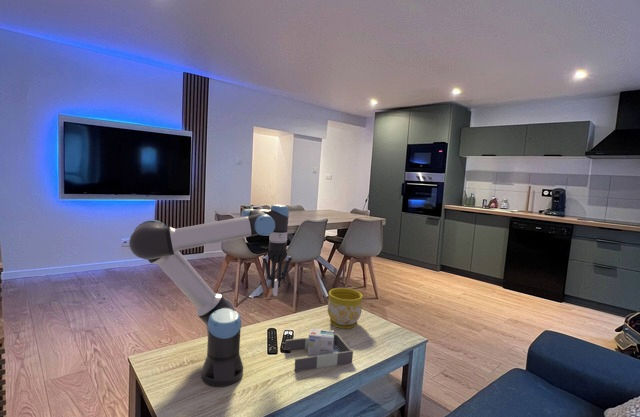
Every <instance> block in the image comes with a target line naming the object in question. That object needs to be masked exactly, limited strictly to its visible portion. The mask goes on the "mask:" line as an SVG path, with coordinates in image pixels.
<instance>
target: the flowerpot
mask: <svg viewBox="0 0 640 417" xmlns="http://www.w3.org/2000/svg"><path fill="white" fill-rule="evenodd" d="M363 297H364V295H363V294H362V292H361V291H358V290H357V289H353V288H348V287H336V288H335V287H334V288H332V289H330V290H329V291H328V302H327V313H328V316H329V321H330V323H331V324H332V325H333V326H334V327H336V328H338V329H343V330H349V329H353V328H354V327H355V326H356V325H357V324H358V321H359V319H360V317H361V315H362V308H363V306H362V302H363Z"/></svg>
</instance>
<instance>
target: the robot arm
mask: <svg viewBox="0 0 640 417" xmlns="http://www.w3.org/2000/svg"><path fill="white" fill-rule="evenodd" d="M289 212H290V210H289V206H287V205H286V204H285V205H284V204H271V206H270V209H261V208H260V209H257V208H256V209H255V208H248V209H247V208H246V209H243V210H242V211H241V216H240V217H235V218H229V219H224V220H218V221H217V220H216V221H211V222H206V223H201V224H196V225H190V226H184V227H179V228H173V227H172V226H166V224H165V223H163V222H161V221H160V220H155V219H153V220H152V219H150V220H146V221H144V222H141V223H139V225H137V226H136V227H135V228H134V231H133V232H132V234H131V235H130V237H129V241H128V245H129V246H128V247H129V249H130V251H131V252H132V254H133V255H135V257H137V258H138V259H139V258H140V259H141V260H147V261H148V262H149V263H150V264H155V265H158V266H159V267H160V269H161V270H162V271H163V272H164V273H165V274H166V275H167V276H168V278H169V279H171V281H172V282H173V283H174V284H175V286H177V288H179V290H180V291H181V292H182V293H183V294H184V295H185V297H186V298H187V299H188V300H189V301H190V302H191V303H192V304H193V306H195V308H196V315H197V316H198V318H199V319H200V320H201V321H202V322H203V323H204V325H205V326H206V334H207V348H206V349H207V350H206V351H207V352H206V357H205V361H204V363H203V366H202V367H201V372H200V373H201V375H200V376H201V380H202V382H203V383H204V384H206V385H208V386H211V387H215V388H217V387H220V388H222V387H229V386H230V385H233V384H236V383H237V382H239V381H240V380H241V379H242V377H243V375H244V374H243V373H244V365H243V364H244V363H243V361H242V358H241V354H240V348H241V347H240V343H241V330H242V319H241V315H240V313H239V312H238V311H237V310H235V308H234V306H233V304H232V303H231V302H230V300H228V299H226V298H225V297H224V296H223V294H221V293H220V292H219V293H218V292H217V293H215V291H214V290H213V289H212V288H211V287H210V286H209V284H208V283H207V281H205V280H204V278H202V277H201V275H200V274H199V273H198V272H197V271H196V269H195V268H194V267H193V266H192V265H191V263H190V262H189V261H188V260H187V258H185V256H184V255H183V254H182V253H181V252H180V251H183V250H189V249H193V248H198V247H203V246H208V245H213V244H217V243H222V242H228V241H234V240H238V239H244V238H249V237H255V236H258V235H259V236H264V237H265V236H269V239H268V240H269V242H268V251H267V255H264V256H262V257H261V260H262V261H263V264H264V268H265V275H266V278H267V279H268V280H270V287H271V289H272V295H273V296H274V297H277V296H278V290H279V288H281V282H282V280H284V279H285V278H286V277H287V276H286V275H287V272H288V269H289V266H290V263H291V261H292V259H293V257H291V256H290V255H288V252H287V246H288V244H287V243H288V242H287V241H288V228H289V218H290V216H289ZM268 261H270V262H271V270H270V266H269V262H268ZM283 262H284V264H283ZM282 265H283V266H282ZM276 266H277V268H276ZM270 272H271V273H270Z"/></svg>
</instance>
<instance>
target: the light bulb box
mask: <svg viewBox="0 0 640 417" xmlns="http://www.w3.org/2000/svg"><path fill="white" fill-rule="evenodd" d="M334 334H335V330H331V329H320V328H313V327H311V328H310V329H309V334H308V337H309V342H308V349H307V357H310V356H317V355H324V354H331V353H334V346H335V345H334Z"/></svg>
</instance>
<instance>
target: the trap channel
mask: <svg viewBox="0 0 640 417" xmlns="http://www.w3.org/2000/svg"><path fill="white" fill-rule="evenodd" d="M308 342H309V336H307V337H299V338H290V339H286V340H285V342H284V351H285V350H286V349H288V348H290V349H291V351H290V352H294V351H300V350H308ZM334 346H336V348H337V349H338V348H339V349H338V350H339V351H340V352H333V353H331V354H324V355H317V356H310V357H308V356H304V357H303V356H302V357H297V358H294V360H295V361H294V372H301V371H308V370H315V369H321V368H327V367H332V366H338V365H339V366H340V365H345V364H353V356H354V351H353V349H351V347H350V346H349V345H348V344H347V342H346V341H345V340H344V339H343V338H342V336H341V335H339V333H334Z"/></svg>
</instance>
